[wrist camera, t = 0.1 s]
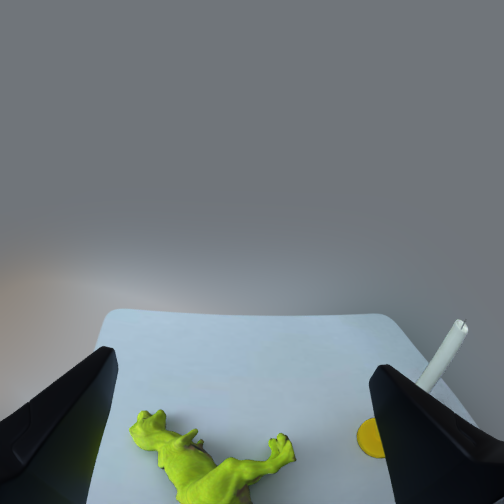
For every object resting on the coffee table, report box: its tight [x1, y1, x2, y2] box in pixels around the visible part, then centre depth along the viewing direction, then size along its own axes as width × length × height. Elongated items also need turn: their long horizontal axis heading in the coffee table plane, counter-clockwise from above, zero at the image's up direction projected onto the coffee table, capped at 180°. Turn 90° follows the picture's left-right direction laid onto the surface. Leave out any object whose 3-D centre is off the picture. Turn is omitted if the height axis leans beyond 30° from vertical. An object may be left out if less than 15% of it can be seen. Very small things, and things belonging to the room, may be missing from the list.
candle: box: [357, 319, 468, 458], centre depth 18 cm, size 5×5×16 cm
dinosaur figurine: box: [129, 410, 296, 504], centre depth 15 cm, size 20×10×6 cm, turn 59°
